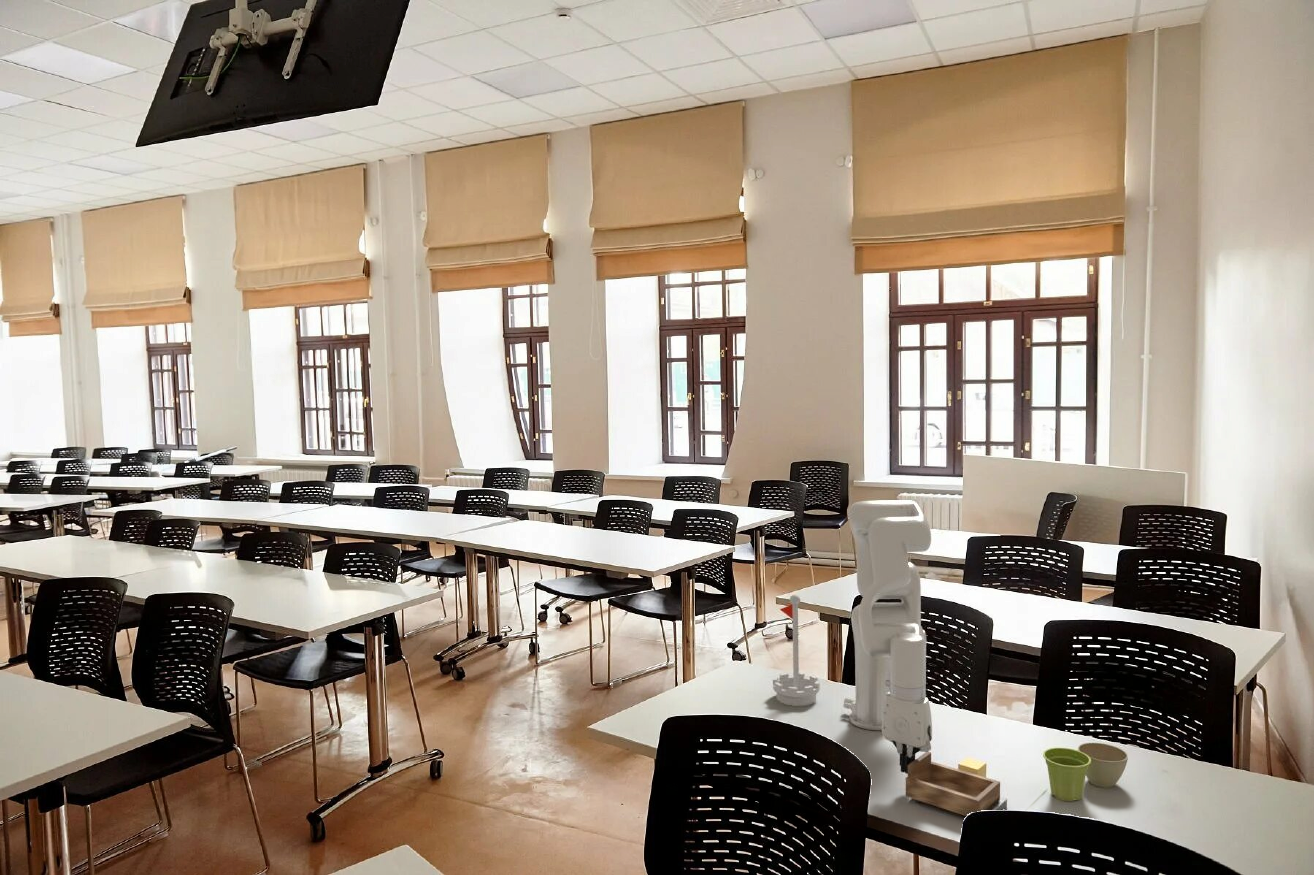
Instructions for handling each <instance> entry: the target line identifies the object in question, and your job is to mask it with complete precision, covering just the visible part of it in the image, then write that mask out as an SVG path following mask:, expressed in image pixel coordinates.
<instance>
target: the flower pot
mask: <svg viewBox="0 0 1314 875" xmlns="http://www.w3.org/2000/svg"><path fill="white" fill-rule="evenodd" d="M1077 751H1080V752H1083V753H1085V754H1086V755H1088V756H1089V757H1090V759H1091V763H1090V765H1089V766H1088V769H1087V771H1086V776H1085V777H1086V778H1087V780H1088V781H1089V783H1090V784H1092V785H1094V786H1096V787H1100V788H1106V789H1108V788H1113V787H1114V786H1115V785H1116V784H1117V783H1118V782H1119V781H1120V779H1121V777H1122V775H1123V773H1124V772H1125V769H1126V766H1127V763H1128V758H1129V755H1128V753H1127V752H1126V751H1125V750H1124V749H1122V748H1119V747H1117V746H1115V745H1111V744H1109V743H1101V742H1085V743H1082V744H1079V745H1078V746H1077Z"/></svg>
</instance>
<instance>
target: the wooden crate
mask: <svg viewBox="0 0 1314 875" xmlns="http://www.w3.org/2000/svg"><path fill="white" fill-rule="evenodd" d="M905 797H907V798H910V799H913V800H914V802H915V803H916V804H918V803H919V802H923V803H925V804H927V805H928V804H929V805H932V806H935V807H937V808H940V809H944V810H947V811H950V812H952V813H954V814H955V813H956V814H959V815H962V816H965V817H967V816H966V815H967V814H969V813H971V812H977V811H981V810H988V809H989V808H990V807H991V806H992V805H993V804H994V803H996V802H997V801H998V800H999V799H1000V798H1001V781H999V780H996V779H993V778H989V777H987V776H986V777H982V776H979V775H976V774H972V773H969V772H965V771H962V770H959V769H958V768H955V767H951V766H948V765H945V764H941V763H938V762H936V761H935V762H934V761H932V752H930V751H928V752H923V754H921V755H920V756H918V757H917V758H915V760H914V761H913V762H911V763H910V764H909V765H908V774H907V776H906V777H905Z"/></svg>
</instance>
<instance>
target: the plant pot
mask: <svg viewBox="0 0 1314 875" xmlns="http://www.w3.org/2000/svg"><path fill="white" fill-rule="evenodd" d="M1042 756H1043V758H1044V760H1045V763H1046V766H1047V773H1048V779H1049V787H1050V793H1051V795H1053V796H1054V797H1055V798H1056V799H1058V800H1061V801H1066V802H1073V801H1075V800H1076V801H1080V800H1082V798H1083V792H1084V787H1085V780H1086V777H1087V776H1086V771H1087V769H1088V766H1089V765H1090V763H1091V759H1090V757H1089V756H1088V755H1086V754H1085V753H1083V752H1080V751H1078V749H1073V748H1067V747H1051V748H1048V749H1046V750H1044V751H1043V753H1042Z"/></svg>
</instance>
